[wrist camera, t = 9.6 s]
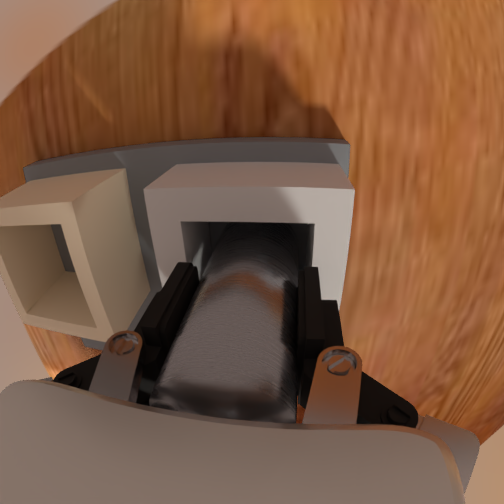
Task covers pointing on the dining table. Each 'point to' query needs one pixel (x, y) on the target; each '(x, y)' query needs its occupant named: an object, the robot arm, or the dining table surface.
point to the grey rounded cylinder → (239, 331)
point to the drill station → (162, 222)
